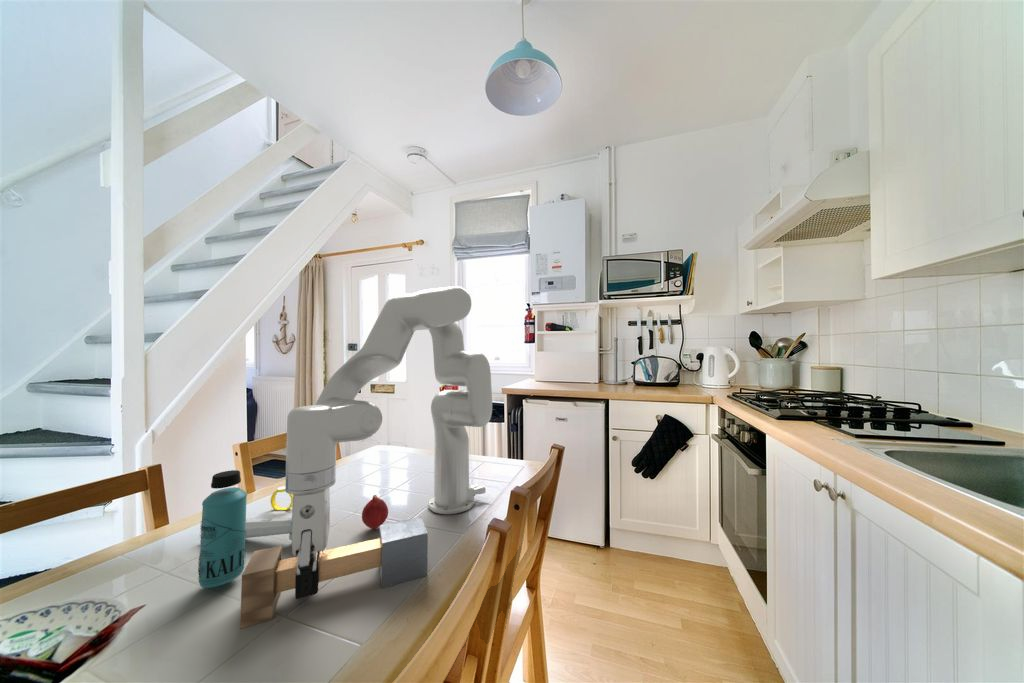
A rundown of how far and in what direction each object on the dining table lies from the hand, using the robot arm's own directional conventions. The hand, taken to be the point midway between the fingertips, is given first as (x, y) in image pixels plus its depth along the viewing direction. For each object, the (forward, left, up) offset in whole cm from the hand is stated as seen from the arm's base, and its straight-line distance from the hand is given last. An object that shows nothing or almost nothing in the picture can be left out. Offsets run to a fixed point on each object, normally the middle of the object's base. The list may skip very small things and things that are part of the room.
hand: (309, 583), depth 57 cm
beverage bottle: (+15, -10, -2) cm, 18 cm away
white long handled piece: (+11, -24, -2) cm, 27 cm away
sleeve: (-15, 0, -2) cm, 16 cm away
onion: (-11, -19, -2) cm, 22 cm away
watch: (+11, -41, -2) cm, 42 cm away
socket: (+7, 0, -2) cm, 7 cm away
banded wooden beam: (-2, 0, 0) cm, 2 cm away
